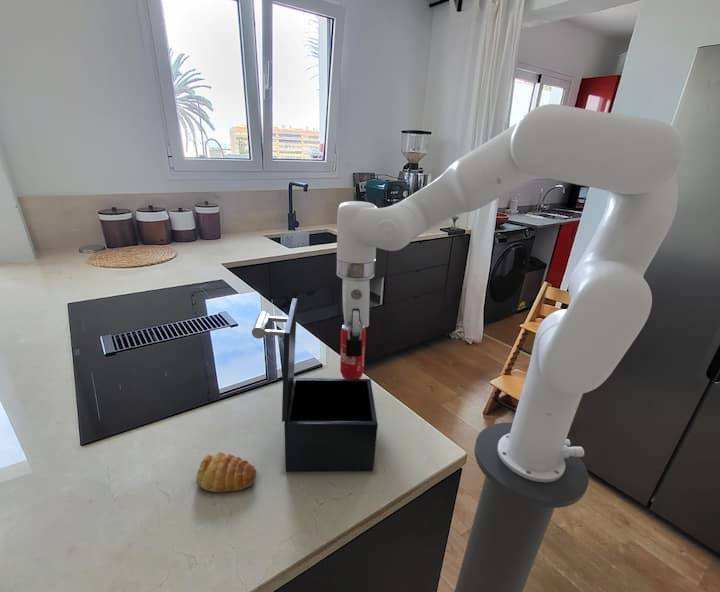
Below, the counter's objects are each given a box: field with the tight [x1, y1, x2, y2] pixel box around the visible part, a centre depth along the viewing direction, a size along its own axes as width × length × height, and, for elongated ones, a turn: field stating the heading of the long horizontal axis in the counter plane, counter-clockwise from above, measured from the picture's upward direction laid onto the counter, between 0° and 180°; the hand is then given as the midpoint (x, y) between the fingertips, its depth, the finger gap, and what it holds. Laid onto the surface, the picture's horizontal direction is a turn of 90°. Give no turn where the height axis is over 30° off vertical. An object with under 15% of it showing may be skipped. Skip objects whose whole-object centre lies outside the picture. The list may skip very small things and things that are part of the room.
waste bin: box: [283, 377, 379, 473], centre depth 74 cm, size 16×14×11 cm
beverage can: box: [339, 322, 367, 379], centre depth 84 cm, size 5×5×12 cm
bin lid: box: [251, 297, 298, 423], centre depth 67 cm, size 16×14×6 cm
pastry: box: [195, 452, 257, 493], centre depth 66 cm, size 9×7×4 cm
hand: (352, 347), depth 84 cm, fingers closed on beverage can, 5 cm apart
